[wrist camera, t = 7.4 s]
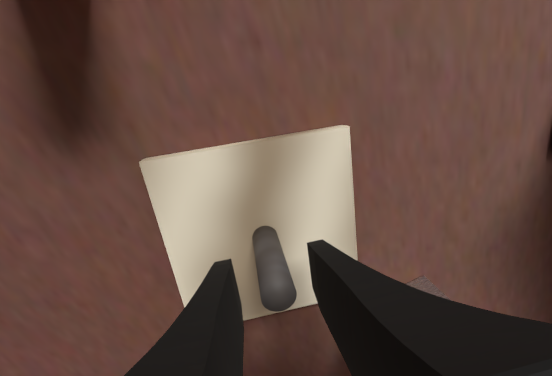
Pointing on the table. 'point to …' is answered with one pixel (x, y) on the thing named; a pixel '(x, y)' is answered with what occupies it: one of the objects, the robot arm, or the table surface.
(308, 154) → the cream tile with peg
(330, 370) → the table surface
